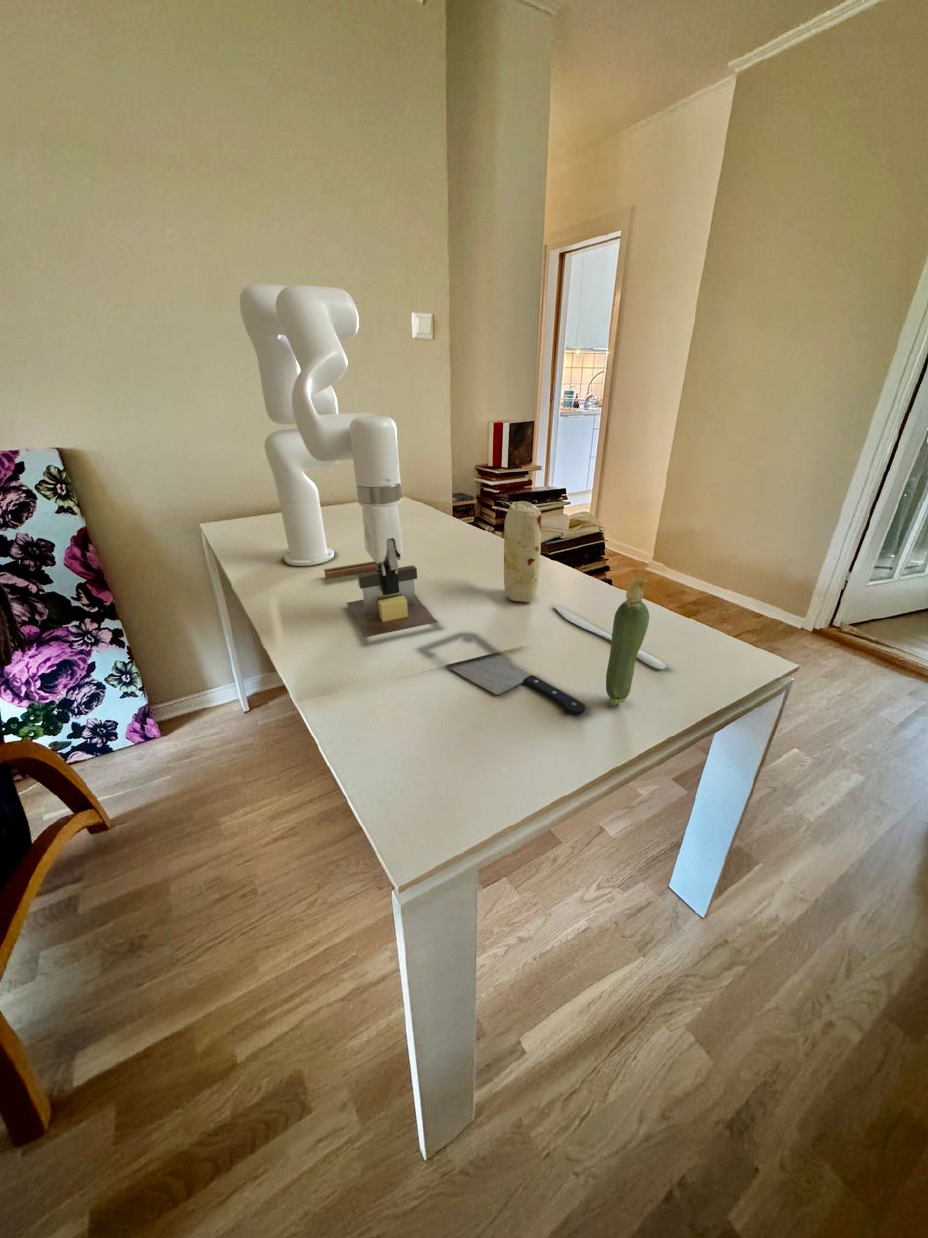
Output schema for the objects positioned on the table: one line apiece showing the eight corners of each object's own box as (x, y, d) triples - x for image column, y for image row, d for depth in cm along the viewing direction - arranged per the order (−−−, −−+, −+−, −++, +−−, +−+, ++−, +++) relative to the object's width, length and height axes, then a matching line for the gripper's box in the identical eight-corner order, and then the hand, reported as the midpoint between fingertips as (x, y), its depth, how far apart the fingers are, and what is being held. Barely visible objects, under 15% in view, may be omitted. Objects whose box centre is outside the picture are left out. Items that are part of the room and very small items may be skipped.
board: (347, 608, 99) (346, 602, 98) (412, 596, 104) (411, 590, 103) (365, 644, 86) (364, 637, 85) (438, 628, 91) (438, 621, 90)
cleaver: (542, 738, 63) (592, 707, 68) (543, 734, 63) (592, 704, 68) (421, 649, 84) (466, 631, 89) (421, 647, 84) (466, 629, 89)
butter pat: (379, 616, 92) (377, 600, 91) (404, 611, 94) (402, 595, 92) (382, 622, 90) (380, 605, 89) (408, 616, 92) (406, 600, 90)
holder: (325, 578, 114) (324, 569, 112) (379, 570, 118) (378, 560, 117) (327, 583, 111) (326, 573, 110) (382, 574, 116) (381, 564, 114)
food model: (545, 602, 100) (552, 507, 91) (518, 608, 98) (521, 511, 88) (521, 585, 108) (525, 496, 99) (495, 591, 106) (496, 500, 96)
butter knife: (655, 670, 76) (668, 664, 77) (548, 608, 97) (560, 603, 98) (655, 673, 76) (668, 667, 77) (548, 610, 97) (560, 606, 98)
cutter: (362, 614, 92) (357, 574, 88) (416, 603, 96) (413, 565, 92) (364, 618, 91) (359, 577, 87) (419, 607, 95) (416, 568, 91)
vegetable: (598, 693, 72) (615, 568, 63) (626, 691, 72) (648, 566, 63) (609, 711, 68) (629, 581, 59) (638, 709, 68) (663, 579, 59)
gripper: (348, 487, 88) (360, 579, 97) (368, 506, 75) (380, 611, 84) (388, 483, 91) (396, 573, 99) (414, 501, 78) (421, 603, 86)
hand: (389, 590), depth 91 cm, fingers closed on cutter, 1 cm apart
